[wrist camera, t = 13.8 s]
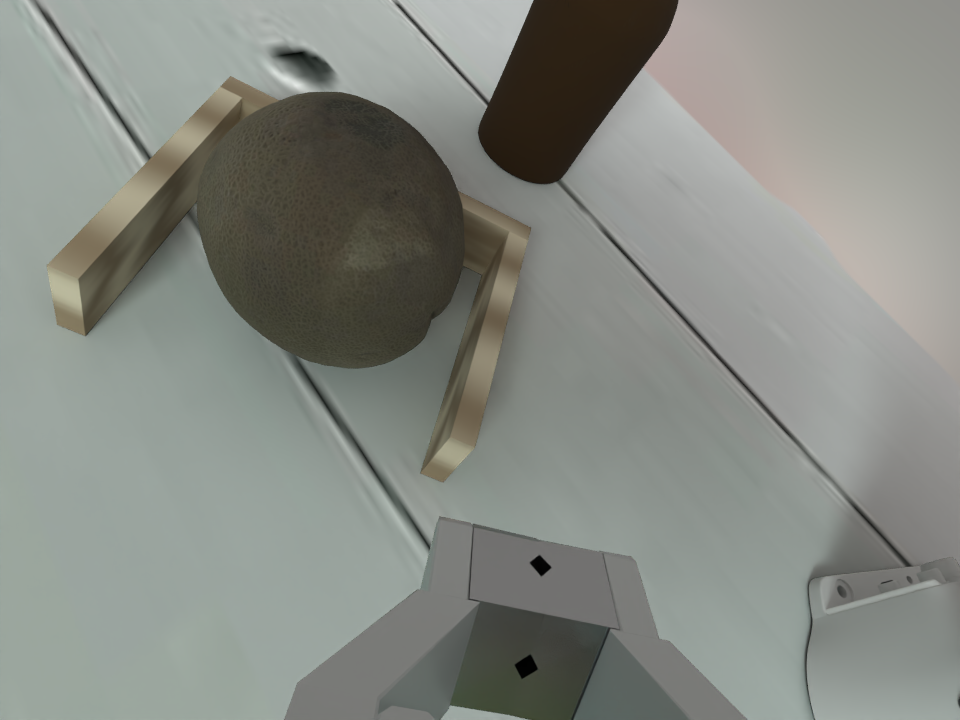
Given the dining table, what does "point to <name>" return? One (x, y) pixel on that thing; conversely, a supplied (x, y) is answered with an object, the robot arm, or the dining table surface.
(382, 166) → the cantaloupe
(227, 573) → the dining table surface
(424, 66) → the dining table surface
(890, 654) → the robot arm
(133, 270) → the box
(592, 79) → the olive oil
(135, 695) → the dining table surface
